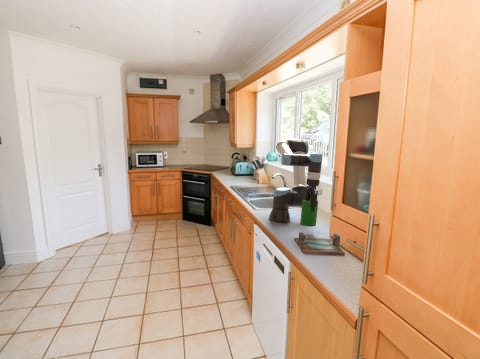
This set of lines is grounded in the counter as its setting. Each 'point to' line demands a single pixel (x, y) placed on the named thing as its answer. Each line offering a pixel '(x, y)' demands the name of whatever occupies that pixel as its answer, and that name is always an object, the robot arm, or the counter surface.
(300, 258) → the counter surface
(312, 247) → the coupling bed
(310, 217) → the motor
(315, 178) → the robot arm
